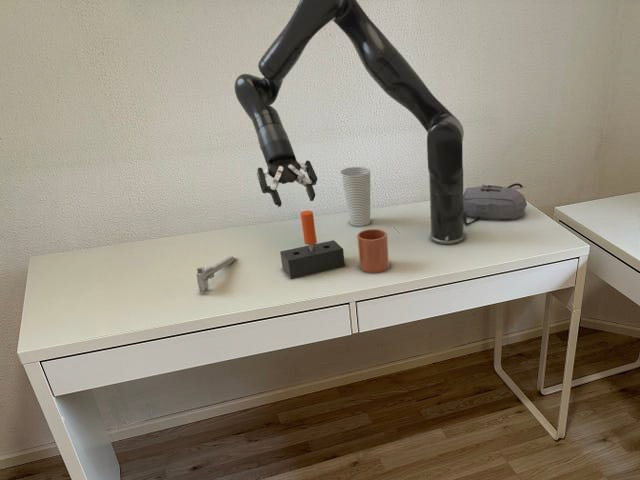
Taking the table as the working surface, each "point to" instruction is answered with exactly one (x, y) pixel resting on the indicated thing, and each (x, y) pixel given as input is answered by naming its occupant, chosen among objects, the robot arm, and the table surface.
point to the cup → (357, 194)
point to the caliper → (210, 273)
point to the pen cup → (373, 250)
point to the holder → (312, 259)
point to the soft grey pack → (493, 202)
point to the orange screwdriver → (308, 228)
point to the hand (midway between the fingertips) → (296, 202)
